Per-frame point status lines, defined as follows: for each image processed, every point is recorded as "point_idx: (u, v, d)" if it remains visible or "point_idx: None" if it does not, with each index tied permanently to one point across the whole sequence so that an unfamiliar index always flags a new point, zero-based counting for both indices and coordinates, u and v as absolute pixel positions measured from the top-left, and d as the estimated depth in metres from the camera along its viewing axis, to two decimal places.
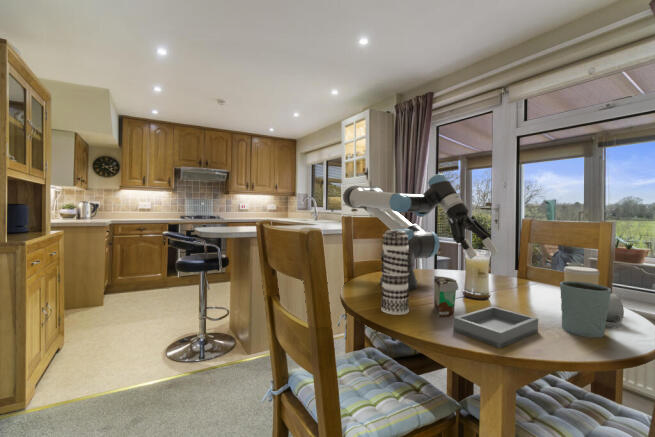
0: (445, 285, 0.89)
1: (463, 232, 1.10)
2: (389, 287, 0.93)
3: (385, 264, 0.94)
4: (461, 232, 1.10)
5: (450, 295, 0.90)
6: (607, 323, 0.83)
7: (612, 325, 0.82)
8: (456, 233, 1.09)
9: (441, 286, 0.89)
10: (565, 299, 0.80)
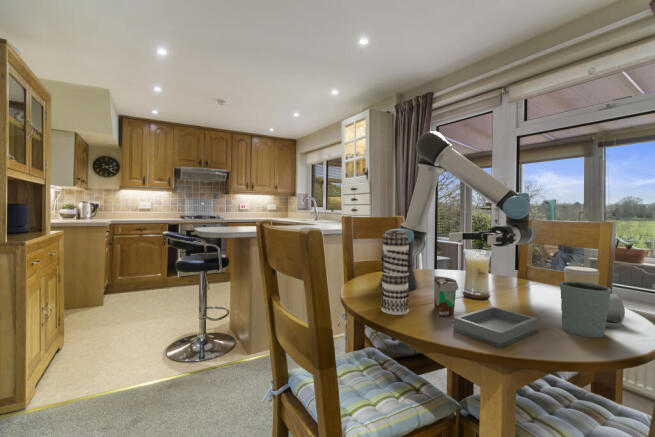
0: (445, 285, 0.89)
1: None
2: (389, 287, 0.93)
3: (385, 264, 0.94)
4: None
5: (450, 295, 0.90)
6: (608, 324, 0.82)
7: (613, 326, 0.82)
8: None
9: (441, 286, 0.89)
10: (565, 299, 0.80)
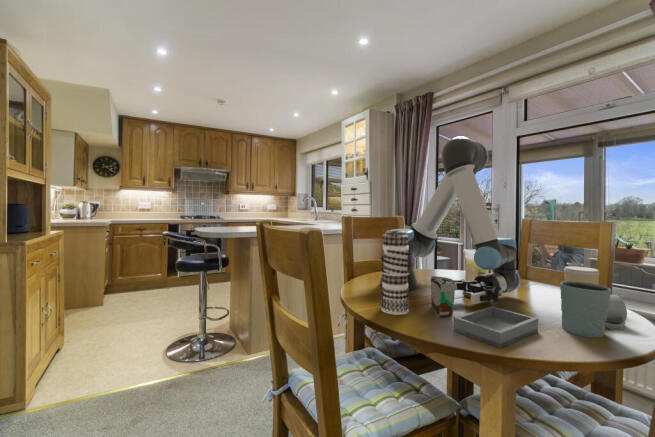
0: (446, 285, 0.88)
1: None
2: (389, 287, 0.93)
3: (385, 264, 0.94)
4: None
5: (450, 295, 0.89)
6: (610, 325, 0.82)
7: (615, 327, 0.81)
8: (498, 299, 0.91)
9: (442, 286, 0.88)
10: (565, 299, 0.80)
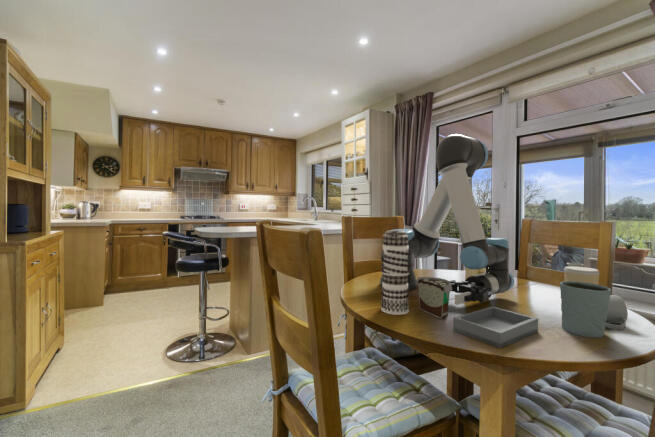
0: (448, 285, 0.88)
1: None
2: (389, 287, 0.93)
3: (385, 264, 0.94)
4: None
5: None
6: (611, 325, 0.81)
7: (616, 327, 0.81)
8: (484, 299, 0.89)
9: (445, 287, 0.87)
10: (565, 299, 0.80)
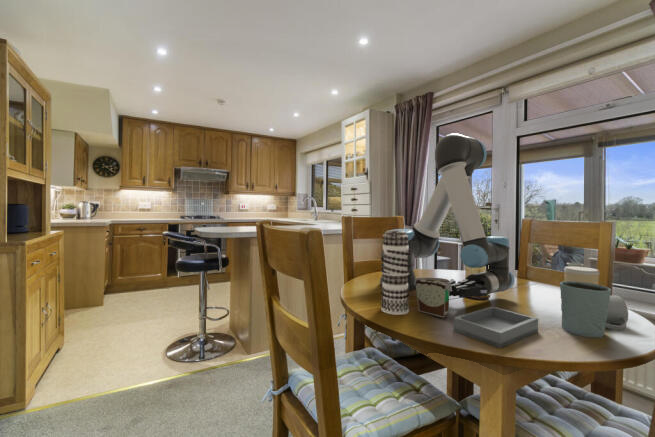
0: (448, 283, 0.88)
1: None
2: (389, 287, 0.93)
3: (385, 264, 0.94)
4: None
5: None
6: (611, 326, 0.81)
7: (616, 328, 0.81)
8: (466, 295, 0.92)
9: (447, 284, 0.87)
10: (565, 299, 0.80)
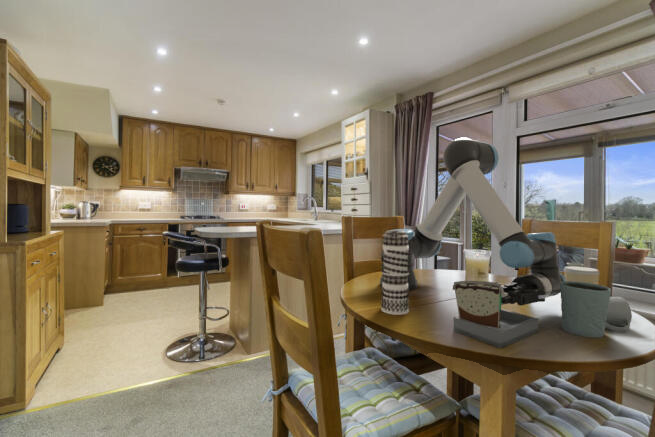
0: (501, 287, 0.73)
1: None
2: (389, 287, 0.93)
3: (385, 264, 0.94)
4: None
5: None
6: (614, 327, 0.80)
7: (620, 330, 0.79)
8: (525, 302, 0.77)
9: (501, 289, 0.72)
10: (565, 299, 0.80)
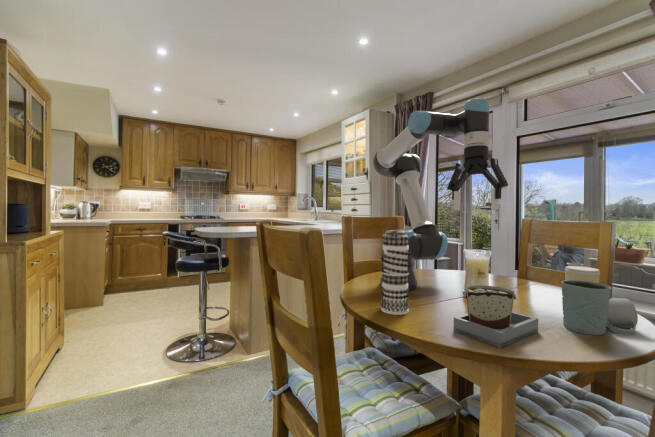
0: None
1: (457, 183, 1.08)
2: (389, 287, 0.93)
3: (385, 264, 0.94)
4: None
5: None
6: (620, 330, 0.78)
7: (625, 332, 0.78)
8: None
9: None
10: (563, 296, 0.83)
